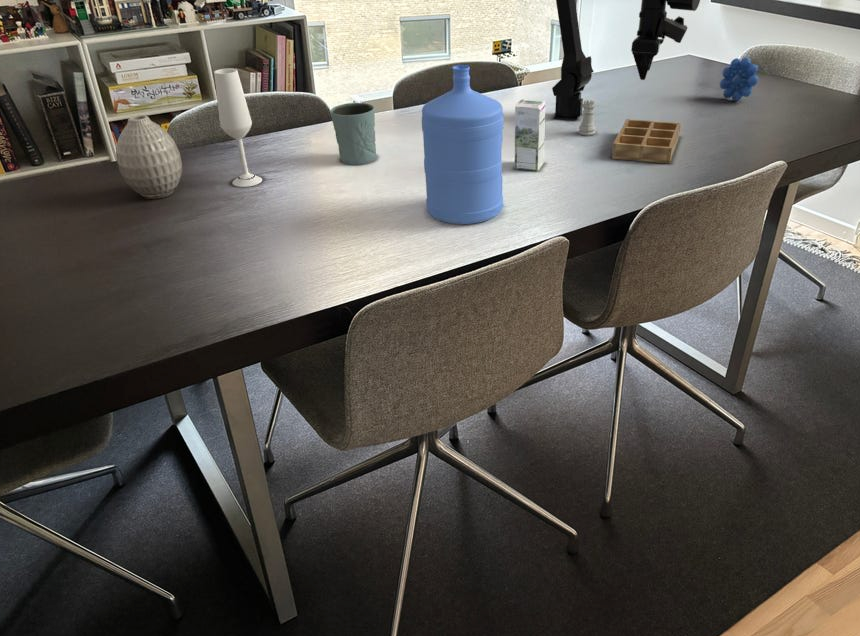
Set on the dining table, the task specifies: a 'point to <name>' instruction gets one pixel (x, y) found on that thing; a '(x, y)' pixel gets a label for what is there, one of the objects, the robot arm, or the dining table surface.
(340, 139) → the green embossed cup
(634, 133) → the rack
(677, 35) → the robot arm
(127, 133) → the vase
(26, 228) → the dining table surface
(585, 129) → the rook chess piece
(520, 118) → the syrup box
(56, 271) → the dining table surface
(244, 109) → the champagne flute
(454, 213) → the water jug
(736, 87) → the grapes
